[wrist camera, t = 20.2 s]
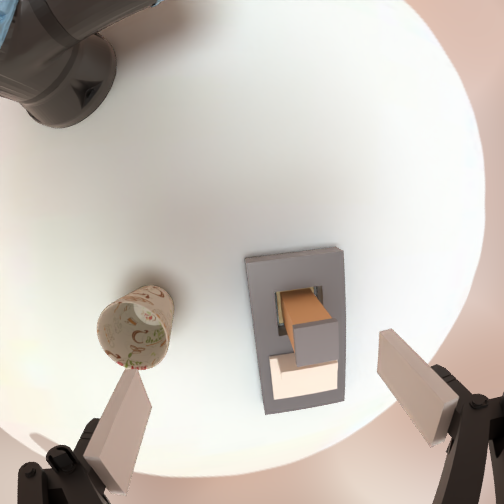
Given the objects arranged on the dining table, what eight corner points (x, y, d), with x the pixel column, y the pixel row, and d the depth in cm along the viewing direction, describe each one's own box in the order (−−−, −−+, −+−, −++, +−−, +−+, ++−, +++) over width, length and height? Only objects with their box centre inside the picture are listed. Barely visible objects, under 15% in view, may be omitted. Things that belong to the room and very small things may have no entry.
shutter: (269, 356, 39) (272, 373, 35) (335, 345, 40) (345, 361, 35) (273, 396, 41) (277, 415, 36) (335, 385, 41) (344, 402, 37)
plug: (278, 291, 41) (294, 329, 29) (310, 286, 41) (338, 321, 29) (281, 321, 42) (297, 367, 30) (312, 316, 42) (338, 359, 30)
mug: (188, 286, 40) (174, 314, 31) (171, 364, 42) (157, 405, 33) (129, 269, 40) (100, 291, 30) (118, 348, 42) (93, 384, 32)
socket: (244, 258, 40) (245, 263, 37) (336, 246, 40) (343, 250, 37) (263, 402, 44) (265, 414, 41) (338, 390, 45) (344, 400, 42)
